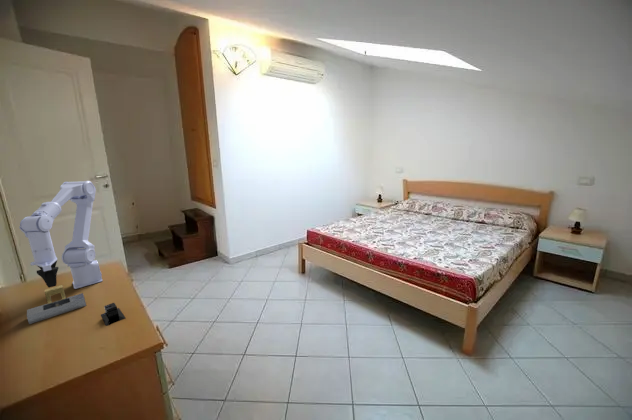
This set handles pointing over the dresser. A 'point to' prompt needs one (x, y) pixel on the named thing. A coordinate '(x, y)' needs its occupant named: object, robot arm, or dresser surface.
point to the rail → (55, 308)
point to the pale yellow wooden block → (54, 292)
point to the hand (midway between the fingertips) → (52, 282)
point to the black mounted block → (112, 314)
